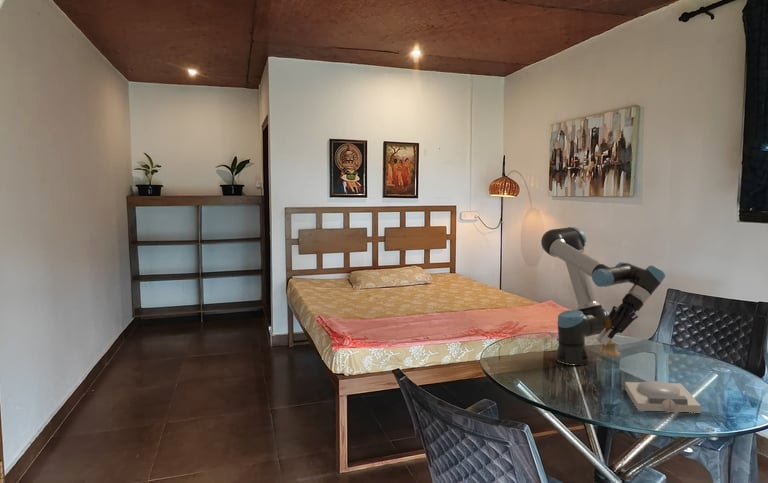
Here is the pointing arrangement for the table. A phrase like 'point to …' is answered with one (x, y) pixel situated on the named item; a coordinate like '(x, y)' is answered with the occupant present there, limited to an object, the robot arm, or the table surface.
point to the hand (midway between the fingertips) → (600, 342)
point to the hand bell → (609, 344)
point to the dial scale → (661, 397)
